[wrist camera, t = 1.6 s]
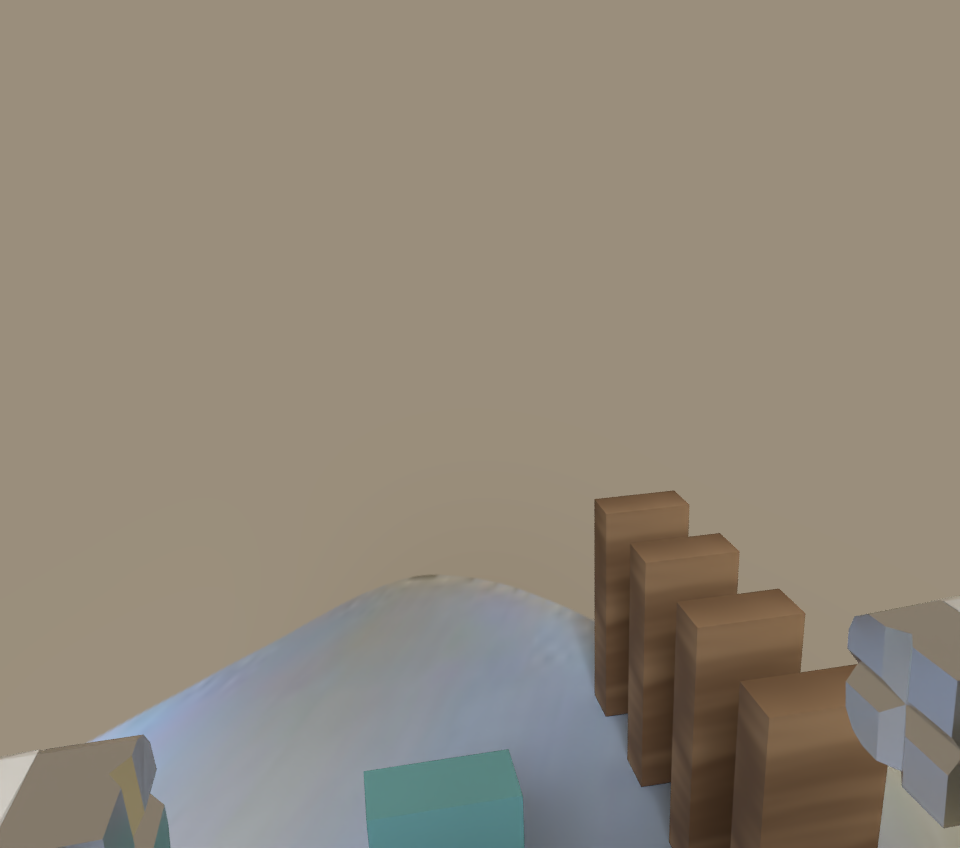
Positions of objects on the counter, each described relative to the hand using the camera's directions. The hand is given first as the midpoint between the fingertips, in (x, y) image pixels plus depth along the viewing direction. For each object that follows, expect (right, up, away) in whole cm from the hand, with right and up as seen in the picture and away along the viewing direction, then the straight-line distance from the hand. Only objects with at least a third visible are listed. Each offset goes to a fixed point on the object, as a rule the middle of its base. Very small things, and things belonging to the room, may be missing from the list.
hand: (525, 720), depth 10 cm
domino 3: (+9, -14, +32) cm, 36 cm away
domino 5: (+11, -17, +22) cm, 30 cm away
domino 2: (+8, -12, +37) cm, 40 cm away
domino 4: (+10, -15, +27) cm, 33 cm away
